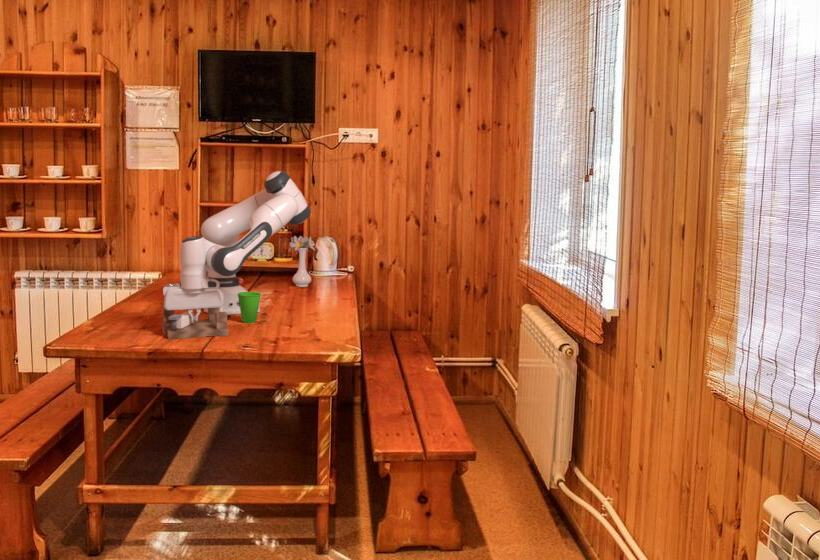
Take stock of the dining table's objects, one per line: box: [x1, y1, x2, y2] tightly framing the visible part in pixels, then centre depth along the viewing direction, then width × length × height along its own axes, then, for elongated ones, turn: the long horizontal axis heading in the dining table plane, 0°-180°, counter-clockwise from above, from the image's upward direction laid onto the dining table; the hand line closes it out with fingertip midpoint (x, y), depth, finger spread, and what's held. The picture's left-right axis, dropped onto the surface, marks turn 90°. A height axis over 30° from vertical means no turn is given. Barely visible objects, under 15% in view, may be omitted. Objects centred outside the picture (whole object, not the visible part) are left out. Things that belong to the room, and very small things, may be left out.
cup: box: [237, 291, 262, 324], centre depth 302 cm, size 9×9×11 cm
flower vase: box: [288, 235, 316, 288], centre depth 393 cm, size 13×18×25 cm
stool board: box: [161, 305, 229, 340], centre depth 283 cm, size 21×20×8 cm
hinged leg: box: [169, 311, 195, 329], centre depth 278 cm, size 15×4×5 cm, turn 173°
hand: (194, 321), depth 282 cm, fingers closed
